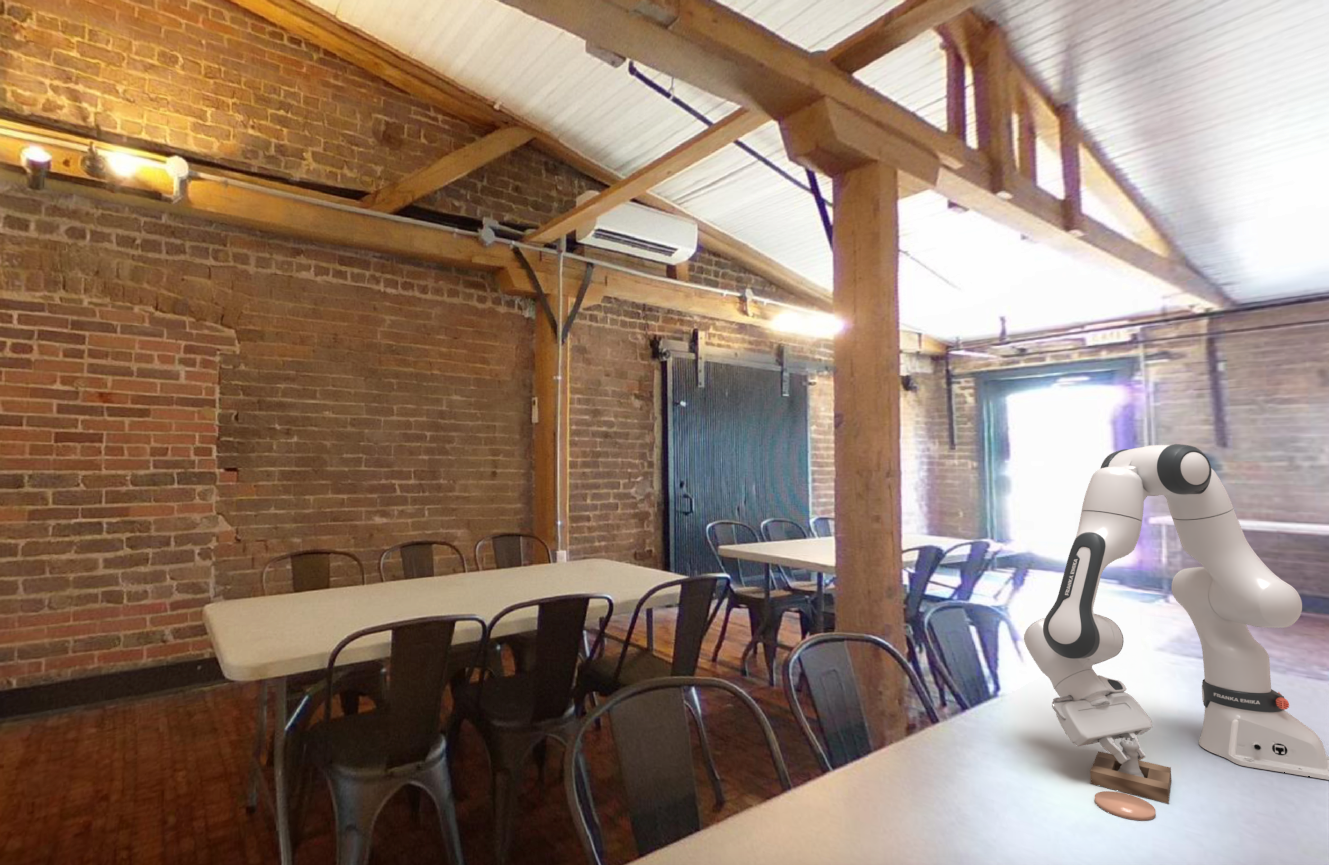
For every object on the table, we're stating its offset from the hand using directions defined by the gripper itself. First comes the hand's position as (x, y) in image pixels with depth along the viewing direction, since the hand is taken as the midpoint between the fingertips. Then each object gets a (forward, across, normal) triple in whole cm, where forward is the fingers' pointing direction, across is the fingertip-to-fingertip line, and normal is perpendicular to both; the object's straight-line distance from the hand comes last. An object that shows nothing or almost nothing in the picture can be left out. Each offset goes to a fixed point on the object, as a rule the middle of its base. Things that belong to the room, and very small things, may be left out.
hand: (1133, 760), depth 128 cm
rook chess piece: (+3, 0, +4) cm, 5 cm away
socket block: (+3, 0, +4) cm, 4 cm away
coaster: (+7, -11, -1) cm, 13 cm away
